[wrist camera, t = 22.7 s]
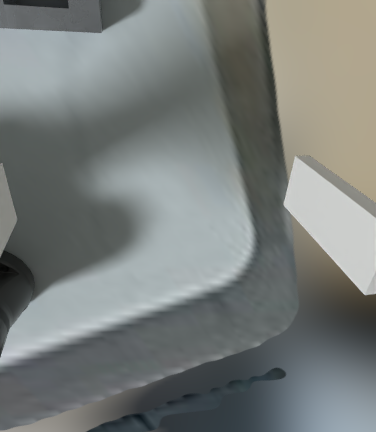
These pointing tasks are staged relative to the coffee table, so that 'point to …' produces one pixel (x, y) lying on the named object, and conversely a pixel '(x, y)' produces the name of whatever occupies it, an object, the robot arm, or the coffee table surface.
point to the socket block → (53, 16)
